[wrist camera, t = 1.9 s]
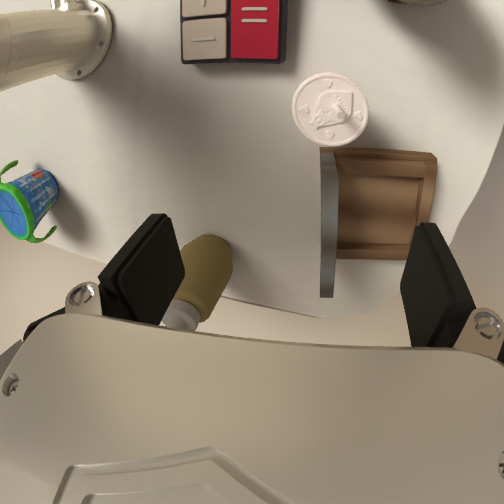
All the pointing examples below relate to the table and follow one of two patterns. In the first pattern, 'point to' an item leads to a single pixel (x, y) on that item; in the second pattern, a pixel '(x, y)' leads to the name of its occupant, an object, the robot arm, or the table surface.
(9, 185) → the snack cup
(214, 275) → the squeeze bottle
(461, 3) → the table surface
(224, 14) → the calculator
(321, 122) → the smoothie
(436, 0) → the apothecary jar
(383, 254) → the display stand
